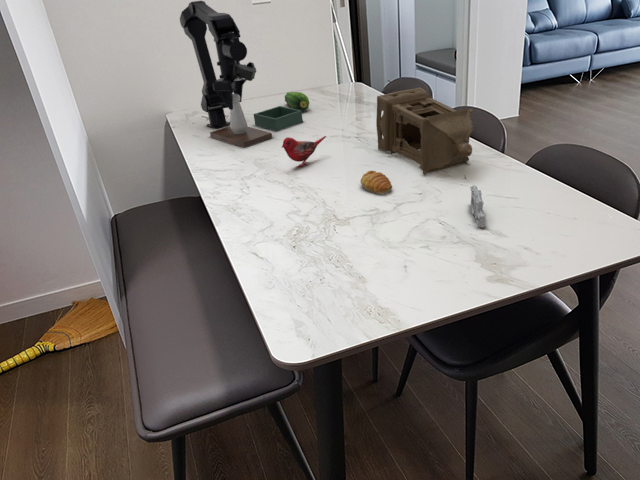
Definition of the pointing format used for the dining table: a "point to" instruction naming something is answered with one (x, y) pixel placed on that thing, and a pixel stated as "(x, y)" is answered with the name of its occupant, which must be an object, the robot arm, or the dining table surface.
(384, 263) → the dining table surface
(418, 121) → the brown lantern
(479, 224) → the garden wall model
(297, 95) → the vegetable
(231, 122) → the salt shaker
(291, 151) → the decorative bird figurine
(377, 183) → the pastry
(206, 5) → the robot arm
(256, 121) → the green square tray
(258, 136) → the serving board
